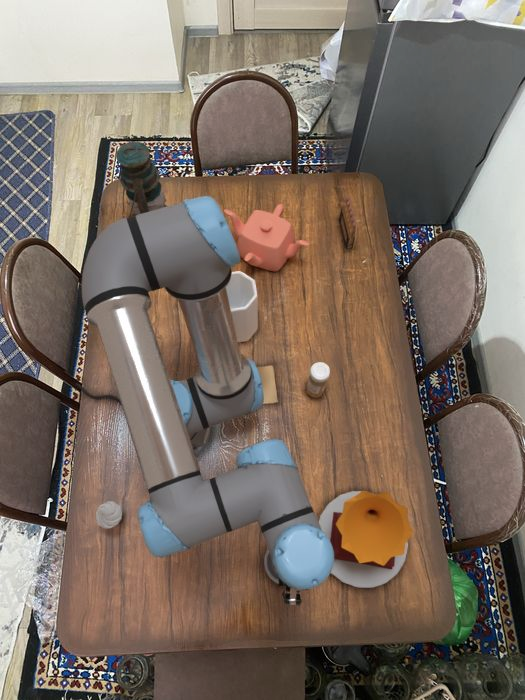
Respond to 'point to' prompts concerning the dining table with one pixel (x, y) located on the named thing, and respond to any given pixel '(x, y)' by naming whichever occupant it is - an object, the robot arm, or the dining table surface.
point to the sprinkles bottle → (317, 379)
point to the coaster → (268, 384)
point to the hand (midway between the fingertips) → (288, 559)
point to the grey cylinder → (270, 567)
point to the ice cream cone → (108, 514)
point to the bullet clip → (348, 223)
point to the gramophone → (366, 537)
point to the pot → (266, 238)
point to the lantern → (140, 179)
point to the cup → (243, 305)
